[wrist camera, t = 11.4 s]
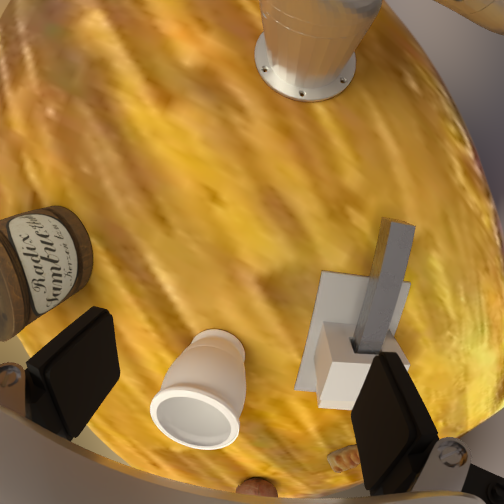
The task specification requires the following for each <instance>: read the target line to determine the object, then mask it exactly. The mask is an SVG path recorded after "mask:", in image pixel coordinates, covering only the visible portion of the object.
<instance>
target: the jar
mask: <svg viewBox="0 0 504 504" xmlns="http://www.w3.org/2000/svg"><path fill="white" fill-rule="evenodd" d="M244 361H245V351H244V348H243V346H242V344H241V342H240V341H239V340H238V339H237V338H236V337H235V336H234V335H232V334H230V333H228V332H226V331H223V330H218V329H210V330H205V331H202V332H200V333H199V334H198V335H196V336H195V338H194V339H193V341H192V343H191V345H189V346H188V347H187V348H186V349H185V350H184V351H183V352H182V354H181V355H180V356H179V357H178V358H177V359H176V360H175V361H174V362H173V364H172V365H171V367H170V368H169V370H168V371H167V373H166V375H165V378H164V380H163V383H162V386H161V390H160V391H159V392H158V393H157V394H156V395H155V396H154V398H153V400H152V402H151V405H150V414H151V417H152V419H153V421H154V423H155V424H156V426H157V427H158V428H159V429H160V430H161V431H162V432H163V433H164V434H165V435H166V436H168V437H169V438H171V439H172V440H174V441H176V442H178V443H180V444H182V445H185V446H188V447H192V448H196V449H204V450H212V449H219V448H223V447H226V446H228V445H229V444H231V443H232V442H233V441H234V440H235V439H236V438H237V436H238V433H239V428H240V422H239V417H240V414H241V412H242V409H243V406H244V402H245V396H246V378H245V366H244Z"/></svg>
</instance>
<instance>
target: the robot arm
mask: <svg viewBox="0 0 504 504" xmlns="http://www.w3.org/2000/svg"><path fill="white" fill-rule="evenodd" d="M434 1H436V2H438V3H440V4H442V5H444V6H446V7H448V8H449V9H451V10H453V11H455V12H457V13H458V14H460V15H462V16H464V17H465V18H467V19H469V20H470V21H472V22H474V23H476V24H477V25H479V26H481V27H483V28H485V29H487V30H489V31H491V32H494V33H497V34H500V35H504V0H434ZM259 4H260V10H261V16H262V23H263V30H264V31H263V32H262V34H261V35H260V37H259V39H258V40H257V43H256V47H255V63H256V66H257V69H258V72H259V74H260V76H261V77H262V79H263V80H264V81H265V82H266V84H267V85H268V86H269V87H270V88H272V89H273V90H274V91H275V92H277V93H279V94H281V95H282V96H284V97H287V98H290V99H292V100H297V101H302V102H317V101H324V100H327V99H330V98H332V97H334V96H336V95H338V94H339V93H340V92H342V91H343V90H344V89H345V88H346V87H347V86H348V85H349V83H350V82H351V80H352V78H353V76H354V73H355V69H356V56H355V52H354V51H355V49H356V48H357V46H358V45H359V43H360V41H361V40H362V38H363V37H364V35H365V34H366V32H367V30H368V29H369V27H370V26H371V24H372V22H373V21H374V19H375V17H376V16H377V14H378V12H379V10H380V7H381V4H382V0H259ZM263 70H267V72H263ZM340 81H343V82H344V83H341V82H340ZM300 94H303V95H304V96H303V97H301V96H300ZM26 364H27V367H28V368H27V369H26V370H24V369H23V367H22V366H20V365H19V364H16V363H9V362H7V363H3V364H0V504H504V478H502V477H500V476H497V475H495V474H493V473H491V472H488V471H486V470H484V469H482V468H479V467H477V466H475V465H473V464H471V457H472V455H471V451H470V449H469V448H468V446H467V445H466V444H465V443H464V442H463V441H461V440H459V439H457V438H453V437H446V438H442V439H440V440H439V437H438V435H437V434H438V432H437V429H436V427H435V425H434V423H433V421H432V419H431V417H430V415H429V413H428V411H427V409H426V407H425V405H424V403H423V401H422V399H421V397H420V395H419V393H418V391H417V389H416V387H415V385H414V383H413V381H412V379H411V377H410V376H409V374H408V372H407V370H406V368H405V366H404V364H403V363H402V361H401V359H400V357H399V355H398V354H397V353H396V352H380V353H379V355H376V356H375V357H374V358H373V361H372V363H371V366H370V369H369V371H368V374H367V376H366V378H365V381H364V383H363V386H362V388H361V390H360V393H359V395H358V397H357V400H356V402H355V404H354V406H353V408H352V412H351V420H352V424H353V429H354V433H355V438H356V443H357V448H358V453H359V458H360V463H361V468H362V474H363V479H364V485H365V488H366V490H370V495H371V496H369V497H356V498H335V499H298V498H278V497H266V496H256V495H248V494H240V493H233V492H227V491H221V490H215V489H210V488H205V487H200V486H195V485H191V484H187V483H183V482H179V481H175V480H171V479H167V478H164V477H160V476H157V475H154V474H150V473H147V472H144V471H141V470H138V469H135V468H132V467H129V466H126V465H124V464H121V463H118V462H116V461H113V460H110V459H108V458H105V457H103V456H101V455H98V454H96V453H94V452H91V451H89V450H87V449H84V448H83V447H80V446H78V445H76V444H74V443H72V442H71V440H72V439H73V437H75V438H76V437H78V436H79V434H80V433H81V431H82V430H83V429H84V427H85V426H86V424H87V423H88V422H89V420H90V419H91V417H92V416H93V415H94V413H95V412H96V410H97V409H98V407H99V406H100V405H101V403H102V402H103V400H104V399H105V398H106V396H107V395H108V394H109V392H110V391H111V389H112V388H113V387H114V385H115V384H116V382H117V381H118V379H119V377H120V367H119V361H118V354H117V347H116V340H115V332H114V323H113V317H112V315H111V314H110V313H109V311H108V310H107V309H103V308H99V307H96V306H93V307H91V308H90V309H89V310H88V311H86V312H85V313H84V314H83V315H81V316H80V317H79V318H78V319H76V320H75V321H74V322H73V323H72V324H70V325H69V326H68V327H67V328H65V329H64V330H63V331H62V332H61V333H59V334H58V335H57V336H56V337H55V338H53V339H52V340H51V341H50V342H49V343H48V344H46V345H45V346H44V347H43V348H42V349H41V350H39V351H38V352H37V353H36V354H35V355H34V356H32V357H31V358H30V359H29V360H28V361H27V362H26Z"/></svg>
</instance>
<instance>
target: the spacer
mask: <svg viewBox="0 0 504 504" xmlns="http://www.w3.org/2000/svg"><path fill="white" fill-rule="evenodd" d="M316 392H317V400H318V408H330V409H344V410H352V408H353V406H354V404H355V402H356V401H330V400H319V393H318V385H317V384H316Z"/></svg>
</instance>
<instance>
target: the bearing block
mask: <svg viewBox="0 0 504 504" xmlns="http://www.w3.org/2000/svg"><path fill="white" fill-rule="evenodd" d="M368 281H369V277H368V276H361V275H353V274H346V273H338V272H331V271H323V270H322V272H321V277H320V282H319V287H318V292H317V296H316V301H315V306H314V310H313V315H312V319H311V323H310V328H309V332H308V336H307V340H306V344H305V349H304V353H303V356H302V360H301V364H300V368H299V372H298V376H297V379H296V383H295V387H294V390H299V391H311V392H316V384H317V385H318V393H319V400H330V401H356V400H357V397H358V395H359V393H360V390H361V388H362V386H363V383H364V381H365V378H366V376H367V374H368V371H369V369H370V366H371V363H372V361H373V358H374V357H375V356H376V355H374V354H357V353H354V351H353V348H352V345H351V341H352V338H353V335H354V332H355V328H356V325H357V322H358V318H359V315H360V311H361V308H362V304H363V300H364V297H365V293H366V289H367V285H368ZM410 285H411V283H410V282H407V281H403V282H402V286H401V289H400V293H399V296H398V300H397V303H396V306H395V310H394V313H393V316H392V319H391V322H390V325H389V328H388V331H387V334H386V337H385V339H384V342H383V345H382V348H381V350H380V352H396V353H397V354H398V355H399V357H400V359H401V361H402V363H403V364H404V366H405V368H406V370H407V371H408V369H409V367H410V363H409V361H408V360H407V358H406V356H405V355H404V353H403V351H402V349H401V348H400V346H399V344H398V343H397V341H396V339H395V338H394V335H395V332H396V329H397V326H398V323H399V320H400V317H401V314H402V311H403V308H404V305H405V302H406V299H407V295H408V292H409V288H410Z"/></svg>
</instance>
